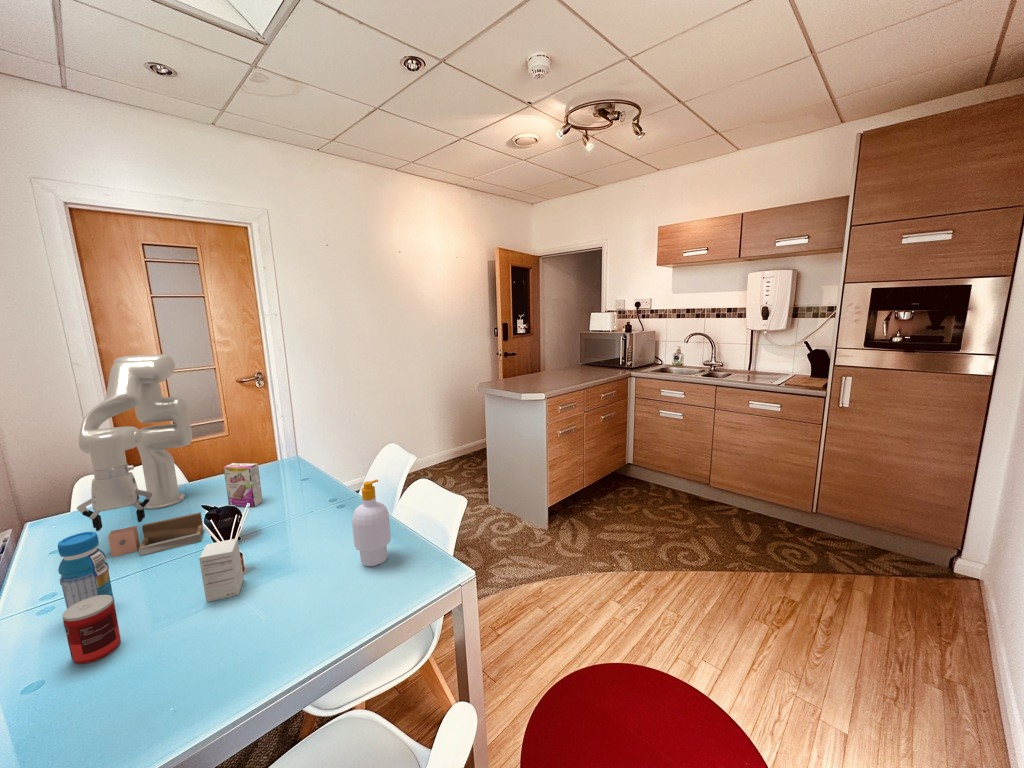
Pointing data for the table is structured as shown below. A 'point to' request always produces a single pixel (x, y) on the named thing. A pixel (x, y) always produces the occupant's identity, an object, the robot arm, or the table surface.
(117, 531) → the salmon pink block
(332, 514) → the table surface
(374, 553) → the soap bottle
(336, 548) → the table surface
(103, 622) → the canned food
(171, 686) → the table surface
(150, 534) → the board
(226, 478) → the candy bar box
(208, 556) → the supplement box
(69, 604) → the beverage bottle
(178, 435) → the robot arm
